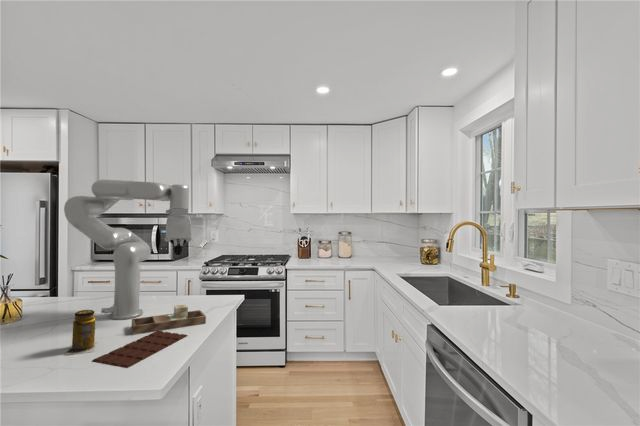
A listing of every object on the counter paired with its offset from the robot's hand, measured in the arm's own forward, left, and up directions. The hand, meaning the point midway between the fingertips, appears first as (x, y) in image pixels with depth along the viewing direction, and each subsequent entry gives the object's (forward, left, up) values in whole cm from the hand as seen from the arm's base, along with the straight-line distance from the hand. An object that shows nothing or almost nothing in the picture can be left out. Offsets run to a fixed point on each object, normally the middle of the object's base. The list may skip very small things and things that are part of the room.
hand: (177, 254), depth 142 cm
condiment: (-32, -21, -27) cm, 47 cm away
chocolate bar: (-15, -29, -28) cm, 43 cm away
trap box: (-4, -10, -27) cm, 29 cm away
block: (0, -10, -24) cm, 26 cm away
